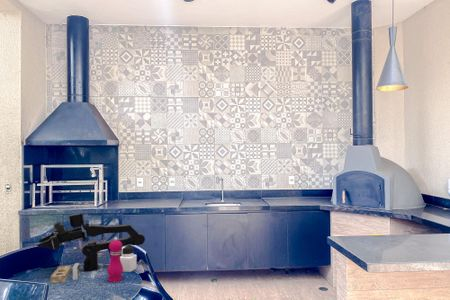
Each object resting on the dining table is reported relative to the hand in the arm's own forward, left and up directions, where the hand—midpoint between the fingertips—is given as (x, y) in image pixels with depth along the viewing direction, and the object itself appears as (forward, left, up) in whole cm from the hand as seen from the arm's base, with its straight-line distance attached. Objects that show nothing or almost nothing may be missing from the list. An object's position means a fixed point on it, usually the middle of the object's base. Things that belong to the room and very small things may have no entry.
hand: (38, 243), depth 171 cm
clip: (-19, +10, -16) cm, 27 cm away
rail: (-12, +7, -16) cm, 21 cm away
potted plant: (-43, +2, -16) cm, 46 cm away
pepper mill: (-38, +18, -16) cm, 45 cm away
